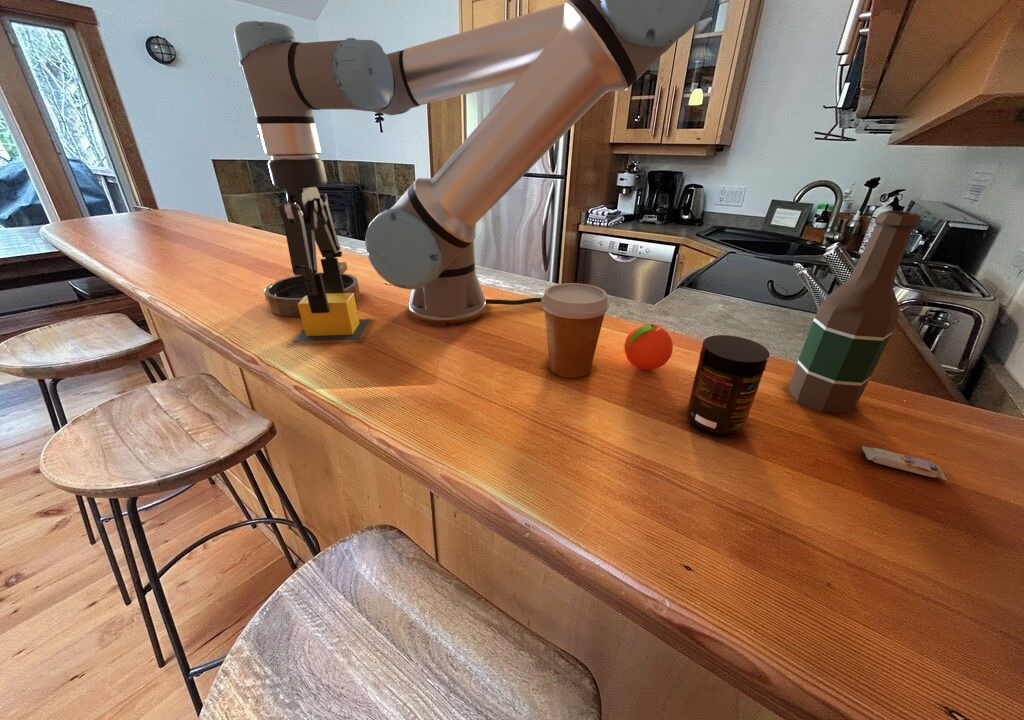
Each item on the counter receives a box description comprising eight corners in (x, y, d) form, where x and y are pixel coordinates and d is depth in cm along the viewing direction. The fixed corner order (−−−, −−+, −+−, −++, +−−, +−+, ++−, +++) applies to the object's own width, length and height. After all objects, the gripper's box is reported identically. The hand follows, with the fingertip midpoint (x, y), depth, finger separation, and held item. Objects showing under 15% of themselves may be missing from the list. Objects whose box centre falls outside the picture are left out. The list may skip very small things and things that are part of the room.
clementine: (641, 385, 58) (649, 340, 55) (606, 365, 64) (612, 323, 60) (678, 370, 62) (687, 327, 59) (643, 352, 67) (650, 312, 64)
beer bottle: (858, 423, 51) (959, 221, 39) (785, 404, 54) (859, 214, 43) (852, 393, 57) (940, 210, 45) (787, 378, 60) (852, 205, 49)
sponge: (359, 323, 77) (353, 292, 74) (352, 334, 72) (346, 302, 69) (315, 324, 76) (307, 293, 73) (305, 336, 72) (297, 303, 69)
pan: (368, 289, 95) (365, 271, 93) (348, 318, 80) (343, 298, 78) (290, 291, 94) (285, 273, 92) (254, 321, 79) (247, 300, 77)
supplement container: (750, 420, 51) (776, 346, 46) (735, 448, 47) (761, 368, 42) (695, 401, 55) (713, 330, 50) (676, 424, 51) (694, 349, 46)
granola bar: (863, 462, 44) (867, 455, 44) (859, 449, 46) (863, 442, 46) (945, 483, 42) (950, 476, 41) (937, 469, 44) (942, 461, 43)
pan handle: (347, 269, 104) (346, 262, 103) (334, 282, 94) (332, 275, 93) (336, 269, 103) (335, 262, 103) (322, 283, 94) (320, 275, 93)
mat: (370, 321, 79) (370, 319, 78) (359, 342, 71) (358, 339, 71) (311, 323, 78) (311, 320, 78) (293, 344, 70) (292, 341, 70)
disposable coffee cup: (582, 391, 57) (590, 310, 51) (526, 370, 62) (528, 294, 56) (612, 364, 64) (622, 290, 58) (559, 347, 69) (563, 278, 63)
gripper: (296, 155, 70) (326, 284, 81) (231, 161, 51) (282, 328, 62) (341, 154, 70) (365, 283, 81) (292, 160, 52) (332, 325, 63)
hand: (329, 302), depth 72 cm, fingers open, 8 cm apart
